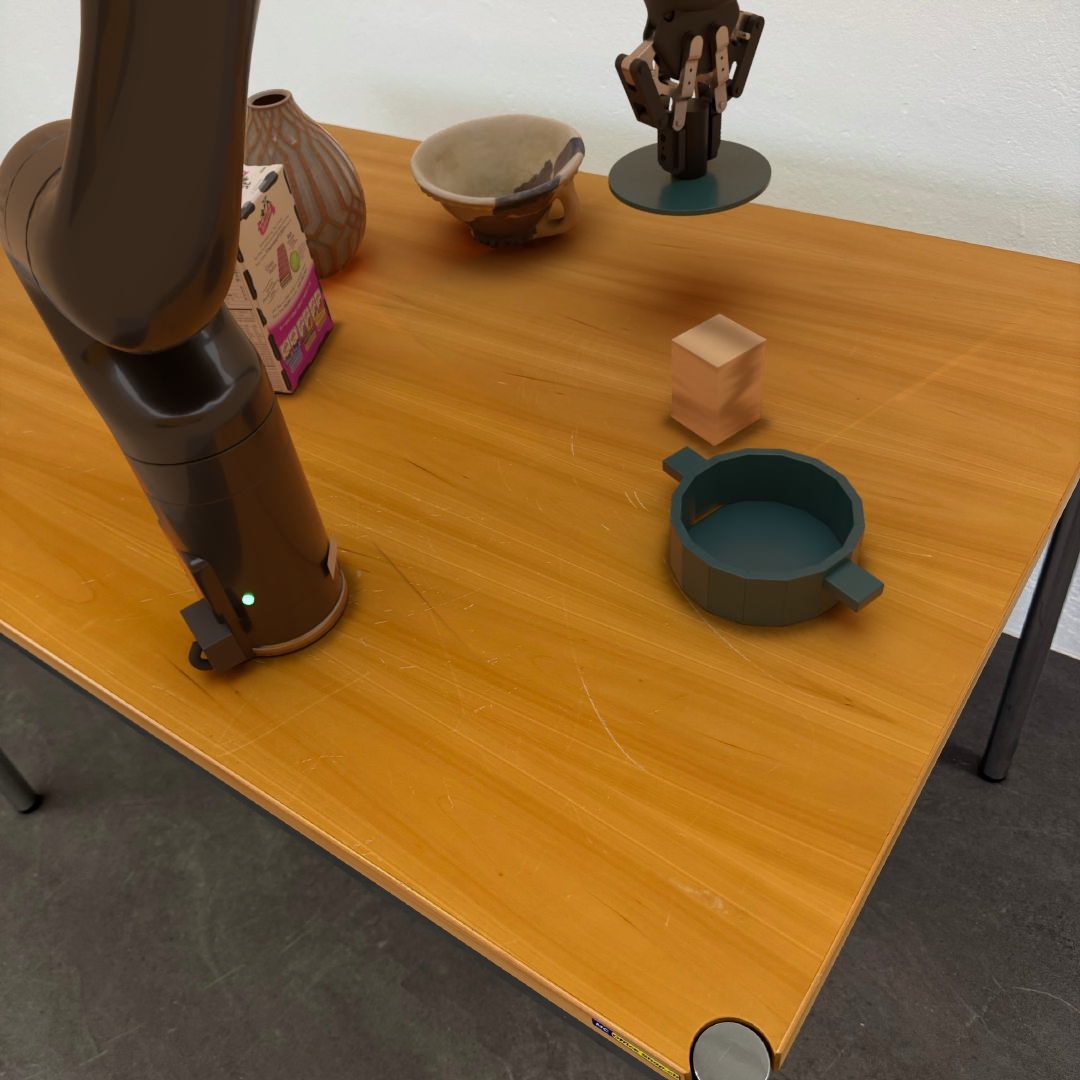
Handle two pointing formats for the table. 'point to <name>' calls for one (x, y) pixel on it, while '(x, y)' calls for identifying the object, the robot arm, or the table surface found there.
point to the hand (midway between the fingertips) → (689, 162)
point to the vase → (309, 176)
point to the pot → (766, 536)
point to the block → (717, 378)
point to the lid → (691, 174)
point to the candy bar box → (276, 280)
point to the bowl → (503, 176)
